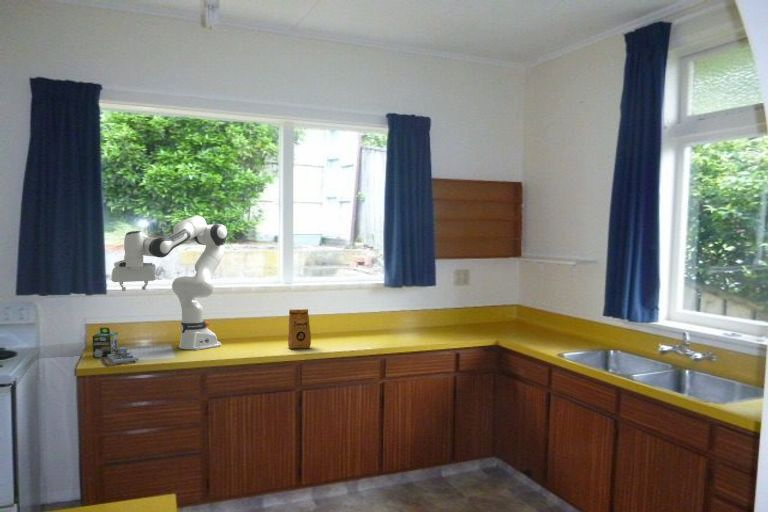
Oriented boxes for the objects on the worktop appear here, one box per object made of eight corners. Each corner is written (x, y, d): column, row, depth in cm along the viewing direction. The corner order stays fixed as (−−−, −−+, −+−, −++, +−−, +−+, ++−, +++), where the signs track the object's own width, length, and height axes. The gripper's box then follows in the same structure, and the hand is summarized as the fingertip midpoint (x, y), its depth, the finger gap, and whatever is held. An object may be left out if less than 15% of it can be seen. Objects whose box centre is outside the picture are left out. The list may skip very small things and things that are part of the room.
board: (127, 356, 278) (127, 346, 277) (135, 363, 265) (135, 352, 265) (101, 359, 270) (101, 348, 270) (107, 366, 258) (107, 355, 257)
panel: (131, 354, 278) (131, 344, 278) (138, 360, 266) (138, 349, 266) (107, 356, 271) (107, 346, 271) (113, 363, 259) (113, 352, 259)
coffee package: (311, 349, 303) (312, 310, 302) (288, 350, 300) (289, 310, 298) (309, 345, 312) (309, 307, 311) (287, 346, 309) (287, 307, 308)
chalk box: (118, 353, 284) (118, 325, 283) (111, 357, 275) (110, 328, 274) (100, 353, 283) (100, 325, 282) (92, 357, 274) (91, 328, 273)
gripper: (153, 262, 283) (153, 288, 284) (110, 263, 271) (110, 290, 272) (157, 263, 278) (157, 289, 279) (113, 263, 266) (113, 292, 267)
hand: (133, 290), depth 275 cm, fingers open, 8 cm apart
